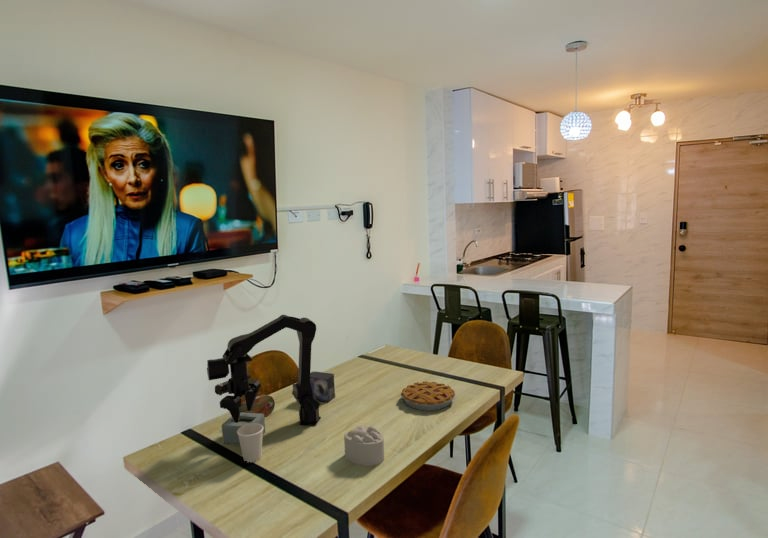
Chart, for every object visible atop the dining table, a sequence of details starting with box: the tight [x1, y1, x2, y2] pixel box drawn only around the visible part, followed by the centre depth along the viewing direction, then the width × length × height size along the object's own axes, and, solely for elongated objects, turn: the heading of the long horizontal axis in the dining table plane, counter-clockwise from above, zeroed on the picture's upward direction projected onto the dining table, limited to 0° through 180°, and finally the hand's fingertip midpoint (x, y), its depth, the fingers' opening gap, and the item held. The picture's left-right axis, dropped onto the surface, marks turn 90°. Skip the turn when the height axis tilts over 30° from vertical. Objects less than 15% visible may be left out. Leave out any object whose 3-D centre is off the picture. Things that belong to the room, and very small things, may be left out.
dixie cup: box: [237, 423, 264, 463], centre depth 154 cm, size 8×8×10 cm
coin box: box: [221, 412, 266, 446], centre depth 168 cm, size 11×10×7 cm
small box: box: [310, 371, 336, 403], centre depth 199 cm, size 11×6×10 cm, turn 68°
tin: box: [241, 394, 276, 418], centre depth 183 cm, size 15×3×8 cm, turn 134°
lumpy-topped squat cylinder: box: [343, 425, 385, 467], centre depth 153 cm, size 10×13×9 cm
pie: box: [400, 380, 456, 412], centre depth 193 cm, size 22×22×5 cm
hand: (243, 416), depth 167 cm, fingers open, 9 cm apart
